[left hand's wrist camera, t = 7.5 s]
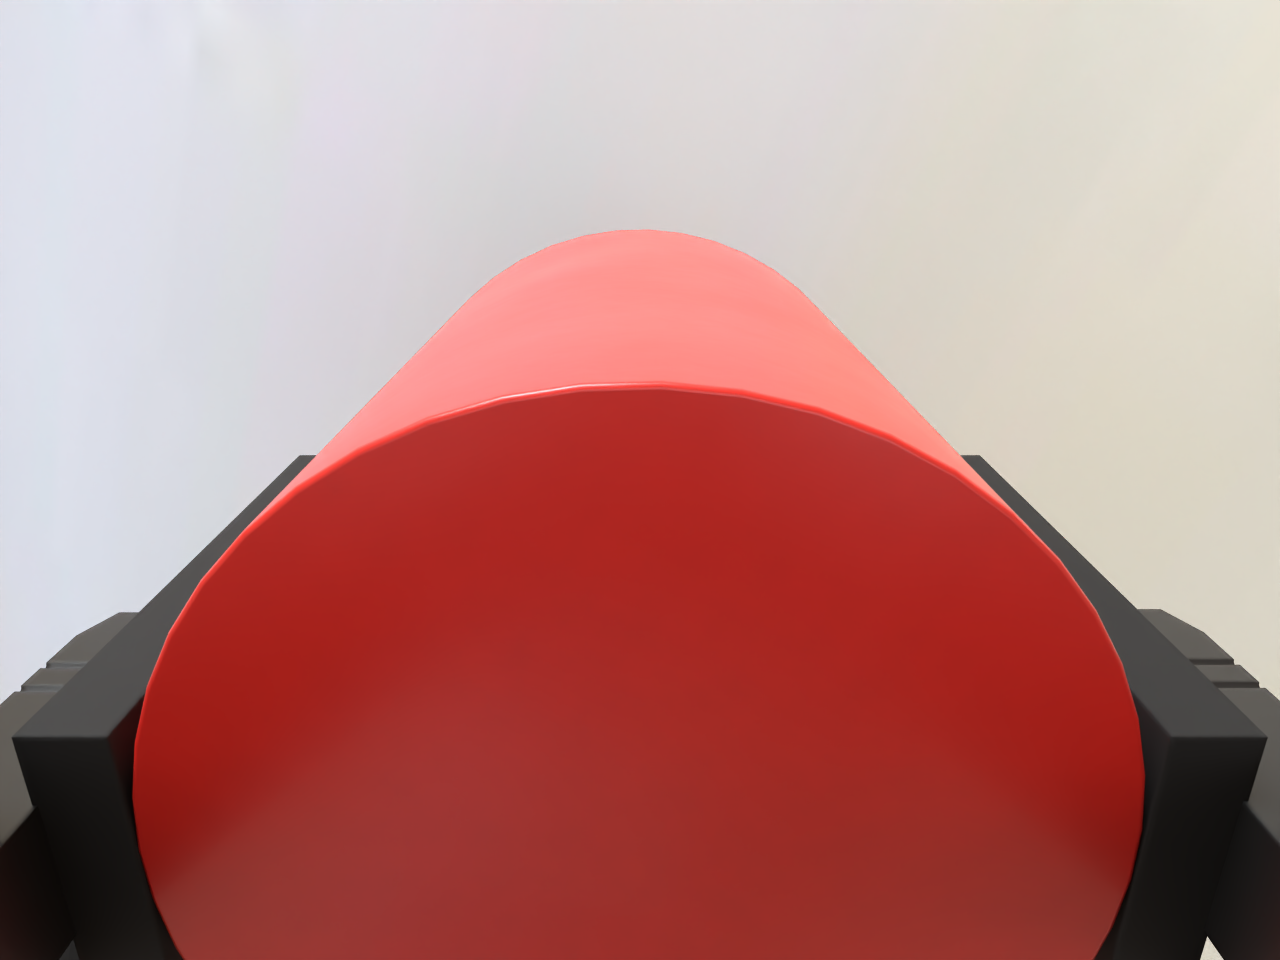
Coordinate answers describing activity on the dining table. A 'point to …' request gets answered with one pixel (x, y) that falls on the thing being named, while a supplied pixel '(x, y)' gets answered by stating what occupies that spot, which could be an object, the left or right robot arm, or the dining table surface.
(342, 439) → the cylinder
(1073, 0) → the dining table surface
